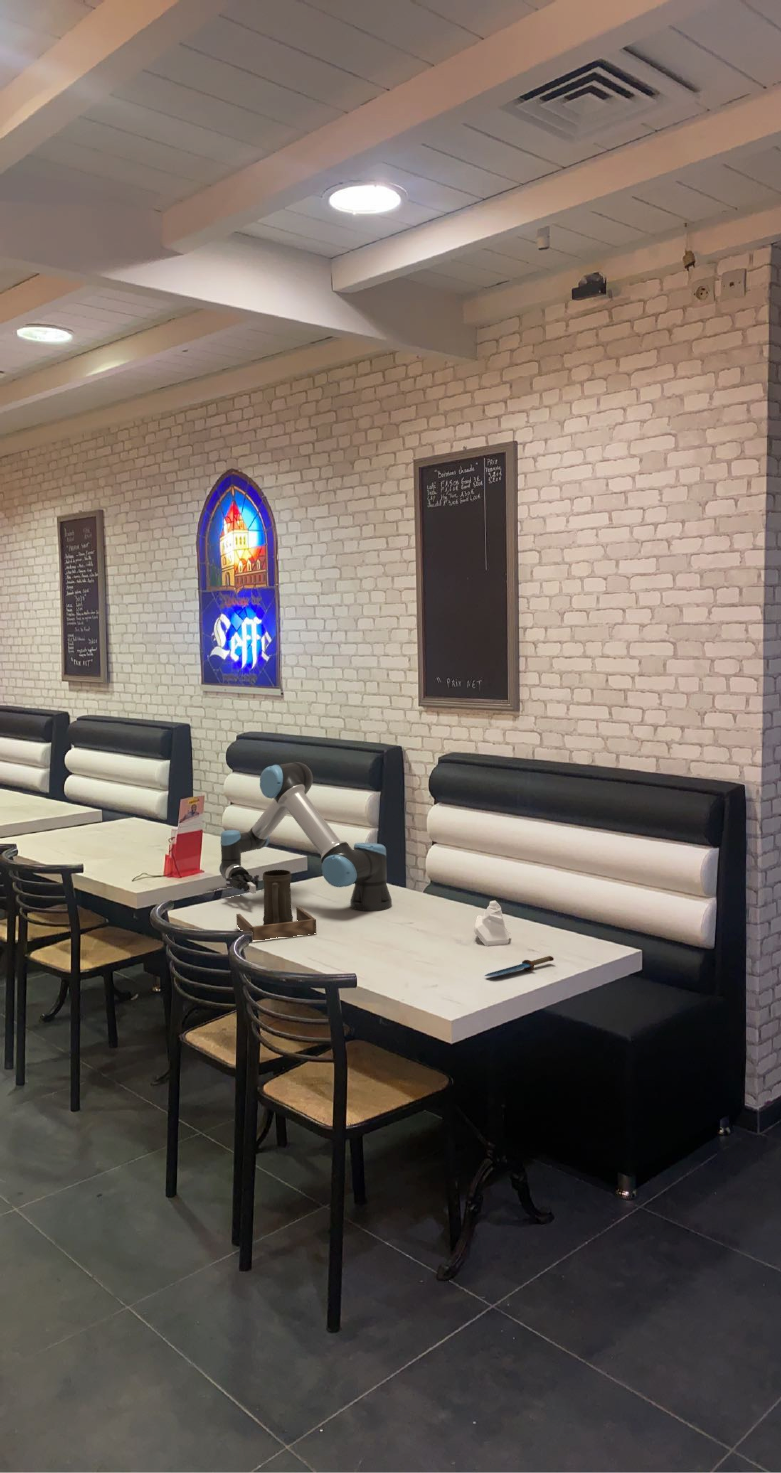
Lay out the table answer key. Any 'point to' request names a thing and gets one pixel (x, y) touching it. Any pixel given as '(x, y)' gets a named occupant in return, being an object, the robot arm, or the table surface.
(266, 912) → the beer stein
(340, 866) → the robot arm
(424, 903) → the table surface
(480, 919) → the white faceted rock
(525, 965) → the knife
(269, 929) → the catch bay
